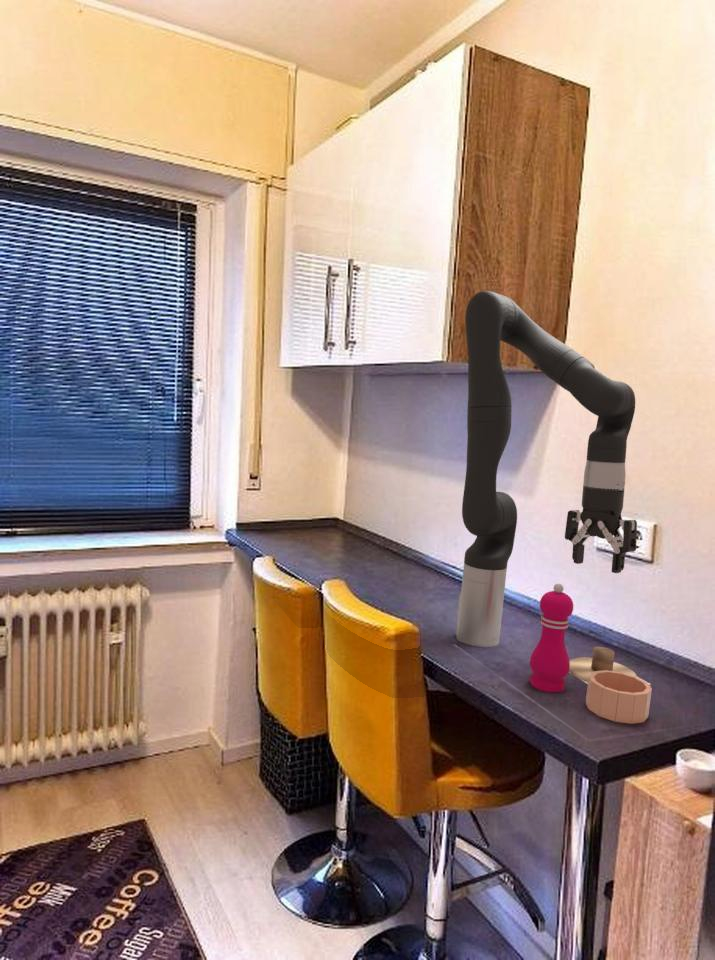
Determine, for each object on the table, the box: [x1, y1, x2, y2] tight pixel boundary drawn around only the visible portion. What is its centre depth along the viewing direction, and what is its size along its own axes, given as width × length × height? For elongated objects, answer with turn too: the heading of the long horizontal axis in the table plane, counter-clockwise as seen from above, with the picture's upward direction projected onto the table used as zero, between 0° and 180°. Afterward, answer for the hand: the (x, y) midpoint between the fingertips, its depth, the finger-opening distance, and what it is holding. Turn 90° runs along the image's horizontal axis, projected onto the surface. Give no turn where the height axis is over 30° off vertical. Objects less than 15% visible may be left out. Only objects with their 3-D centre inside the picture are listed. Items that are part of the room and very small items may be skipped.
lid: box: [569, 646, 638, 682], centre depth 136 cm, size 13×13×5 cm
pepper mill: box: [529, 583, 574, 693], centre depth 127 cm, size 7×7×20 cm
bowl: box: [585, 670, 653, 725], centre depth 120 cm, size 10×10×6 cm
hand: (596, 567), depth 133 cm, fingers open, 8 cm apart
